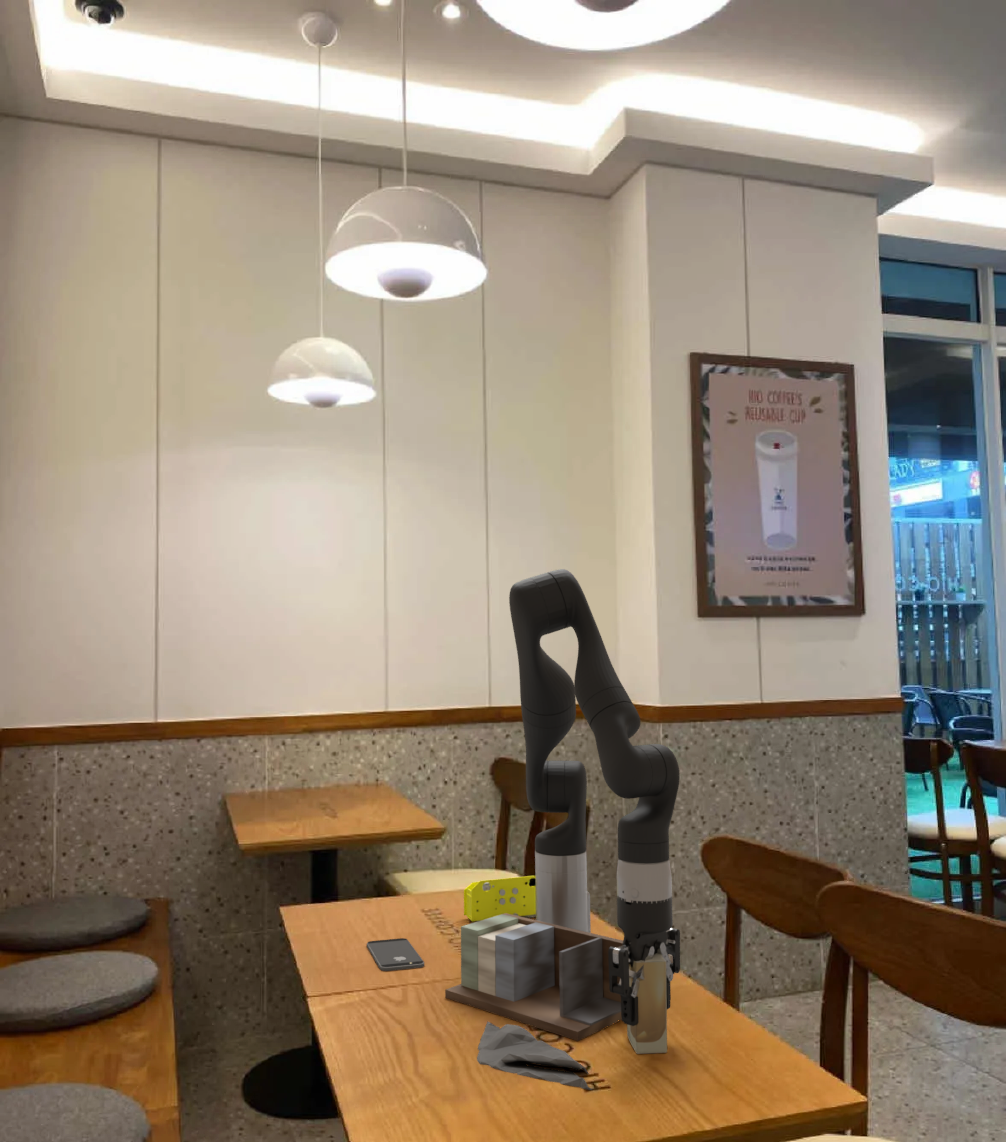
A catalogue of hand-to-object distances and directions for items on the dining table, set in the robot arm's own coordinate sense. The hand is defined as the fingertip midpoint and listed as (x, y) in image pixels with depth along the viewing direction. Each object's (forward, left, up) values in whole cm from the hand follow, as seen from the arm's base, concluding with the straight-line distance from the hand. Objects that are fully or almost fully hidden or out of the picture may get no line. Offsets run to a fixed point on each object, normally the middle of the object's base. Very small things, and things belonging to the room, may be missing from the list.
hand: (646, 1015), depth 137 cm
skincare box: (0, 0, -4) cm, 4 cm away
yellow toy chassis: (-35, -58, -4) cm, 68 cm away
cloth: (+13, -10, -5) cm, 17 cm away
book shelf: (-2, -21, -4) cm, 21 cm away
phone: (-4, -56, -4) cm, 56 cm away
